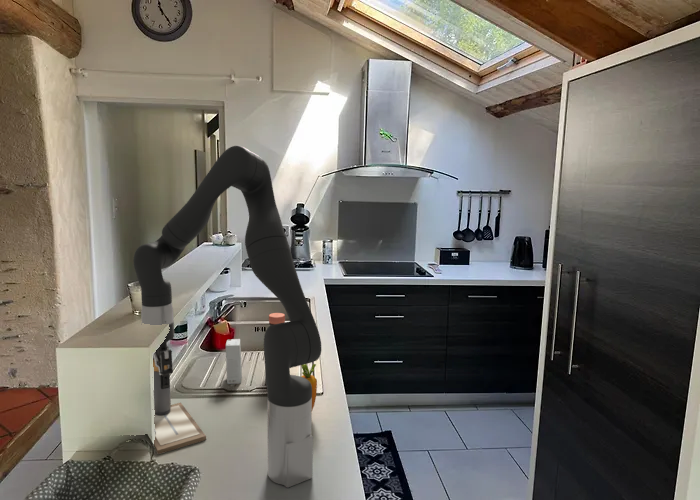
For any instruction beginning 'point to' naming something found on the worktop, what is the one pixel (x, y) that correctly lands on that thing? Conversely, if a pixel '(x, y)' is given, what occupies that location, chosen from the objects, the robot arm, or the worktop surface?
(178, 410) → the writing board
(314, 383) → the carrot
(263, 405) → the worktop surface
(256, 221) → the robot arm
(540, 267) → the worktop surface
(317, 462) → the worktop surface
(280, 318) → the bottle
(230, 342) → the skincare box
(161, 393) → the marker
